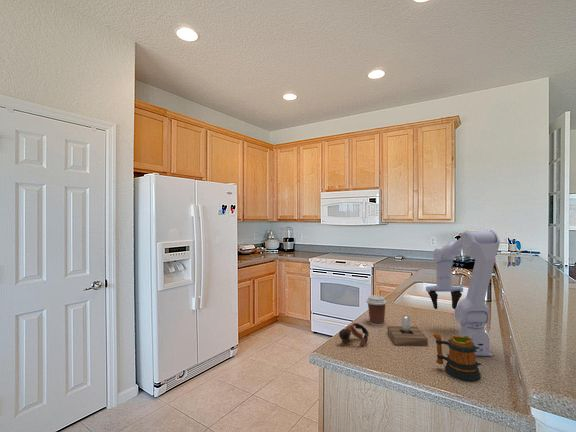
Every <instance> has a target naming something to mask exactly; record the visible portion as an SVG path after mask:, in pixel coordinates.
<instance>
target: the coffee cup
mask: <svg viewBox="0 0 576 432" xmlns="http://www.w3.org/2000/svg"><path fill="white" fill-rule="evenodd" d="M366 303H367V305H368V308H367V309H368V317H369V324H370V325H373V326H384V325H385V317H386V305H387V303H388V301H387V300H386V299H385V297H384V296H382V295H378V294H377V295H369V296H368V298H367V299H366Z"/></svg>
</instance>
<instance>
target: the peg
mask: <svg viewBox="0 0 576 432" xmlns="http://www.w3.org/2000/svg"><path fill="white" fill-rule="evenodd" d="M401 326H402V334H410V326H411V316H409V315H407V314H405V315H401Z"/></svg>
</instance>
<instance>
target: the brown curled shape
mask: <svg viewBox="0 0 576 432" xmlns="http://www.w3.org/2000/svg"><path fill="white" fill-rule="evenodd" d="M357 329H358V330H361V331H362V332H359V331H358V330H357ZM362 333H363V334H364V336H363V334H362ZM351 334H352V335H353V336H354V337H356V338H357V339H359V340H360V343H359V346H360V347H364V346H365V345H366V343H367V342H368V340H369V331H368V330H367V328H366V327H365V326H363V325H362V324H360V323H357V322H352V324H349V325H348V326H347V327H346V328H345V329H344V328H343V329H340V331H339V333H338V336H339V338H340V339H341V340H342V343H346V344H348V341H349V338H350V337H351Z"/></svg>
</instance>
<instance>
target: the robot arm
mask: <svg viewBox="0 0 576 432" xmlns="http://www.w3.org/2000/svg"><path fill="white" fill-rule="evenodd" d="M500 244H501V241H500V238H499V236H498V234H497V233H496V231H494V230H479V231H478V230H475V231H473V230H465V231H463V232H462V233H461V234H460V238H458V239H457V240H456V241H448V242H447V244H445V245H443V246H442V247H441V248H434V250H433V253H432V258H433V261H434V262H435V267H436V268H435V269H436V276H435V277H436V285H431V286H427V285H426V286H425V291H426V292H427V294H428V295H429V297H430V299H431V302H432V305H433V309H435V310H437V309H438V296H439V295H438V293H439V292H440V293H441V292H445V293H447V292H450V296H451V306H452V307H451V308H452V309H454V311H453V313H454V319H455V320H456V321H457V323H458V324H459V325H460V336H461V337H464V336H468V337H470V338H471V340H472V341H473V343H474V345H475V347H479V348H480V349H476V351H477V352H475V356H477V357H478V356H481V357H482V356H483V357H490V356H491V357H492V356H493V354H492V353H491V352H490V338H489V335H488V333H487V332H486V331H485V329H484V327H486V325H487V324H488V323H489V321H490V310H491V309H490V307H489V305H487V303H486V302H485V298H486V296H487V291H488V288H489V284H490V282H491V281H490V280H491V277H492V273H493V270H494V267H495V264H496V257H497V254H498V252H499V247H500ZM463 250H465V252H467V254H468V256H469V257H470V258H471V259H474V265H473V269H472V273H471V277H470V281H469V285H468V289H467V292H466V297H465V298H463V299H461V297H462V293H464V287H462V286H454V285H453V283H452V282H453V281H452V277H453V276H452V267H453V264H454V260H455V258H456V257H458V256H459V255H461V254H462V251H463ZM437 292H438V293H437ZM460 299H461V300H460Z"/></svg>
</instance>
